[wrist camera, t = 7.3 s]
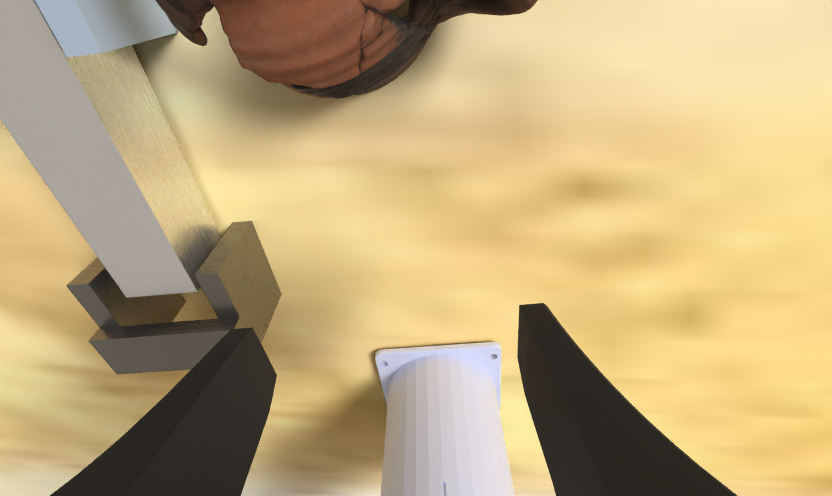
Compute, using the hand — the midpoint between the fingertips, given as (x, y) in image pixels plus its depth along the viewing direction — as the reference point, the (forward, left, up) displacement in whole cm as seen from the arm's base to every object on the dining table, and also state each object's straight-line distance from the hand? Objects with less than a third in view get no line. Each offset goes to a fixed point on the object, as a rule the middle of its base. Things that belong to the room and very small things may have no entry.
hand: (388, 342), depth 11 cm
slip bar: (+3, +11, -10) cm, 15 cm away
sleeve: (-4, +11, -10) cm, 15 cm away
